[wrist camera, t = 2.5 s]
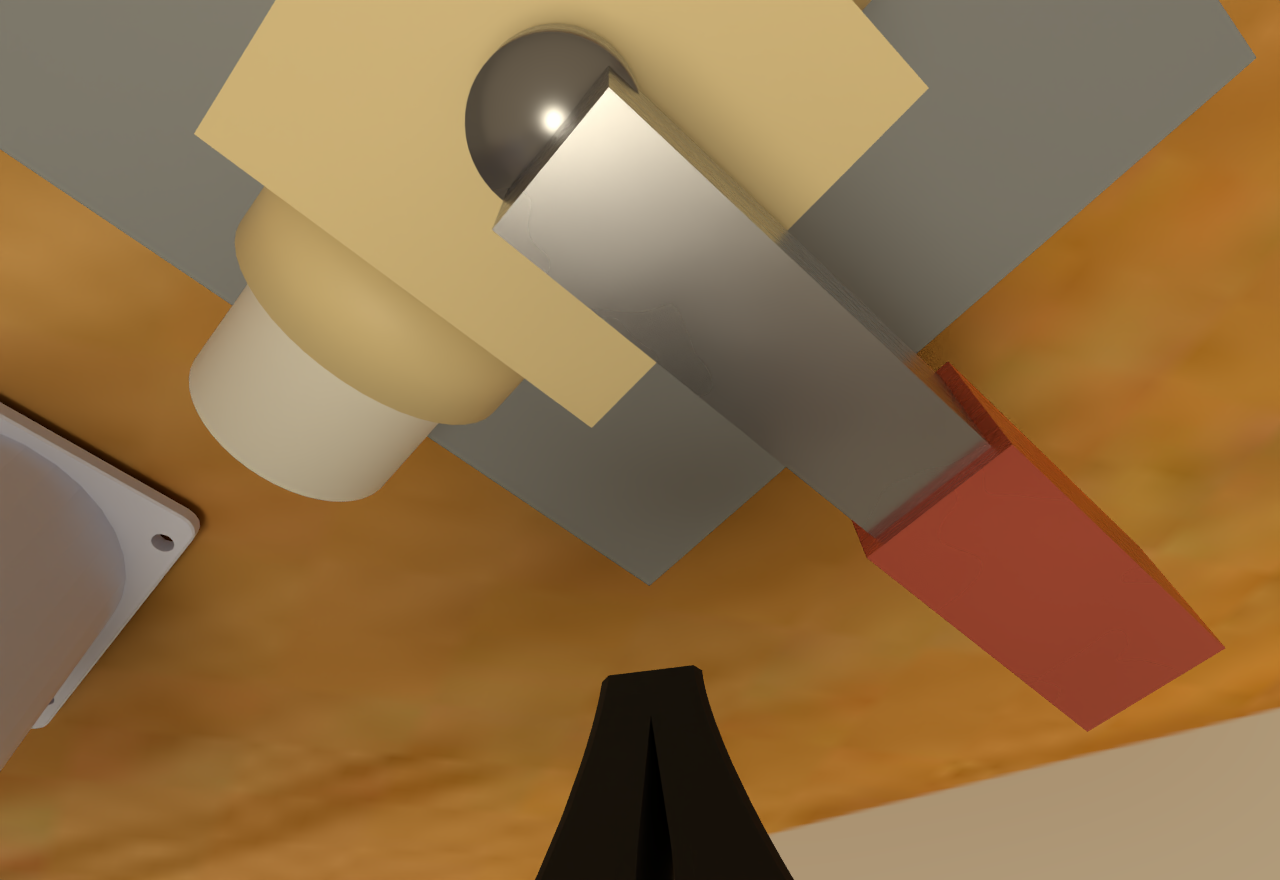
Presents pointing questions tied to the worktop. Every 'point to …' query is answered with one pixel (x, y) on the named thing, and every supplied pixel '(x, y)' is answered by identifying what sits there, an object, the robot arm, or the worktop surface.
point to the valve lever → (819, 378)
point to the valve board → (864, 229)
